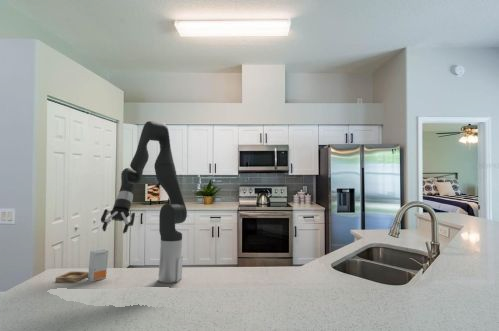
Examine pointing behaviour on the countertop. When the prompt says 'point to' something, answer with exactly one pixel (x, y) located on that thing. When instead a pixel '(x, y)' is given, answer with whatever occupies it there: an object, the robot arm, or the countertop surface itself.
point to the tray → (72, 277)
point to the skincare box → (98, 265)
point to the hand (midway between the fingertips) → (114, 231)
